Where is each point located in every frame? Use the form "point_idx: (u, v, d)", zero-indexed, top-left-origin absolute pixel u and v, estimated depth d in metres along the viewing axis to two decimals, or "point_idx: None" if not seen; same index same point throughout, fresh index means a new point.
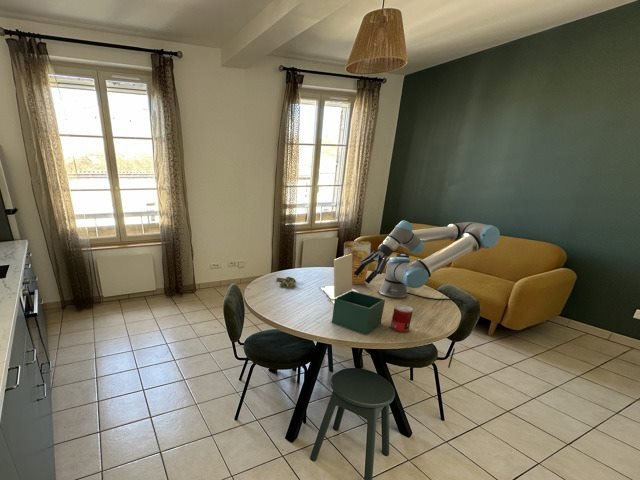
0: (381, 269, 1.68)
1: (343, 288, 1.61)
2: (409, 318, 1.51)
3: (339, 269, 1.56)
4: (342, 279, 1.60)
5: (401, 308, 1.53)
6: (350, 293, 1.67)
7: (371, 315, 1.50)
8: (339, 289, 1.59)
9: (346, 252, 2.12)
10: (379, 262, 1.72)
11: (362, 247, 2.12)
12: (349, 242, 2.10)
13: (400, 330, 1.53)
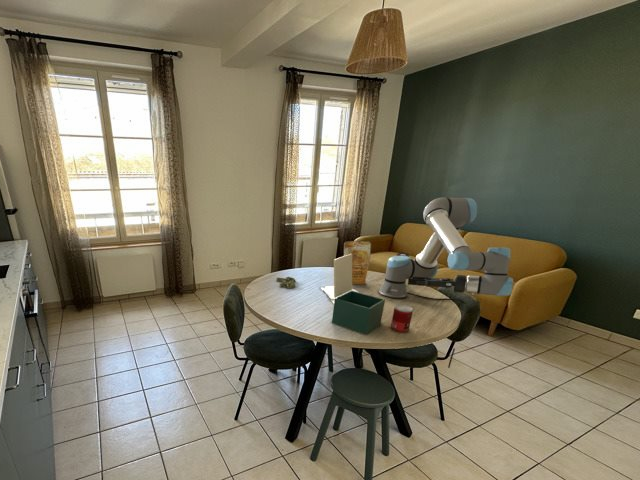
0: None
1: (343, 288, 1.61)
2: (409, 318, 1.51)
3: (339, 269, 1.56)
4: (342, 279, 1.60)
5: (401, 308, 1.53)
6: (350, 293, 1.67)
7: (371, 315, 1.50)
8: (339, 289, 1.59)
9: (346, 252, 2.12)
10: None
11: (362, 247, 2.12)
12: (349, 242, 2.10)
13: (400, 330, 1.53)
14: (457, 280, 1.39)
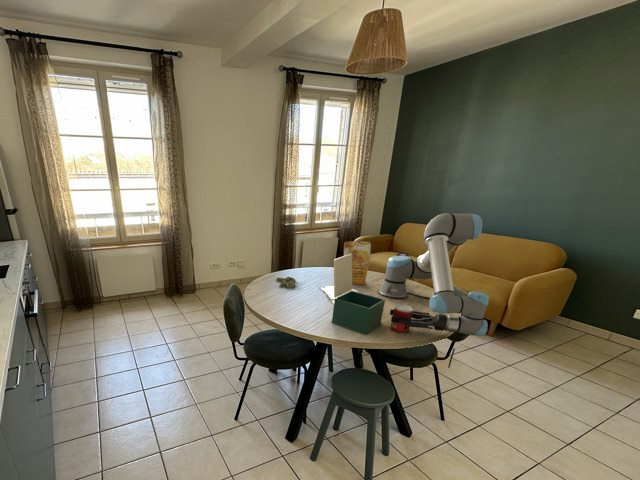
0: None
1: (343, 288, 1.61)
2: None
3: (339, 269, 1.56)
4: (342, 279, 1.60)
5: (401, 308, 1.53)
6: (350, 293, 1.67)
7: (371, 315, 1.50)
8: (339, 289, 1.59)
9: (346, 252, 2.12)
10: None
11: (362, 247, 2.12)
12: (349, 242, 2.10)
13: (400, 330, 1.53)
14: (440, 321, 1.46)
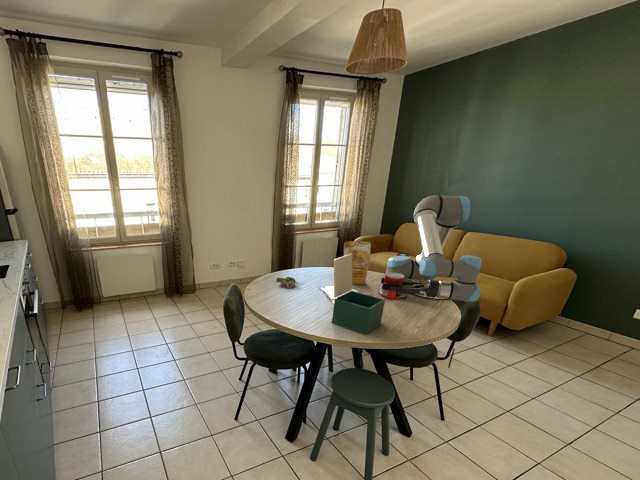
0: None
1: (343, 288, 1.61)
2: None
3: (339, 269, 1.56)
4: (342, 279, 1.60)
5: (392, 275, 1.48)
6: (350, 293, 1.67)
7: (371, 315, 1.50)
8: (339, 289, 1.59)
9: (346, 252, 2.12)
10: None
11: (362, 247, 2.12)
12: (349, 242, 2.10)
13: (391, 298, 1.49)
14: (431, 287, 1.42)
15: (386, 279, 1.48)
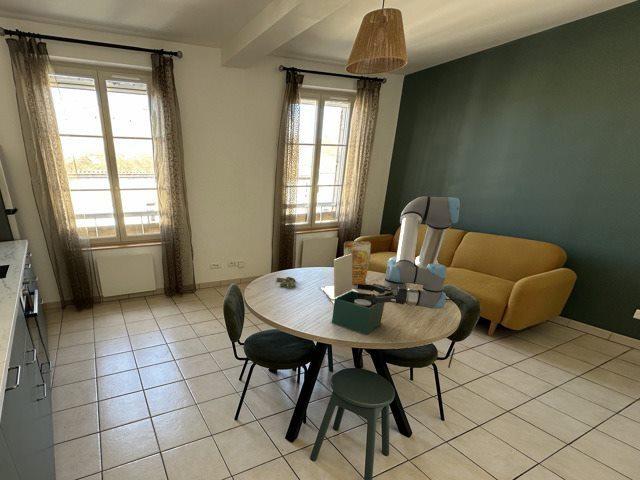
0: None
1: (343, 288, 1.61)
2: None
3: (339, 269, 1.56)
4: (342, 279, 1.60)
5: (360, 302, 1.57)
6: (350, 293, 1.67)
7: (371, 315, 1.50)
8: (339, 289, 1.59)
9: (346, 252, 2.12)
10: None
11: (362, 247, 2.12)
12: (349, 242, 2.10)
13: None
14: (400, 294, 1.47)
15: None
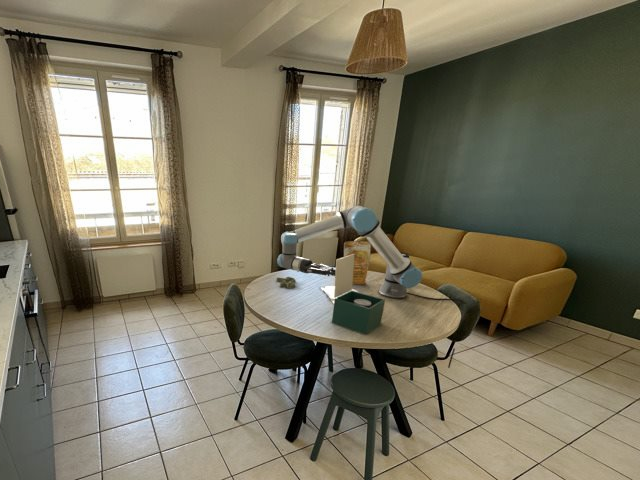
0: (322, 272, 1.64)
1: (343, 288, 1.61)
2: None
3: (341, 269, 1.56)
4: (343, 279, 1.59)
5: (360, 302, 1.57)
6: (350, 293, 1.67)
7: (371, 315, 1.50)
8: (339, 289, 1.59)
9: (346, 252, 2.12)
10: None
11: (362, 247, 2.12)
12: (349, 242, 2.10)
13: None
14: None
15: None
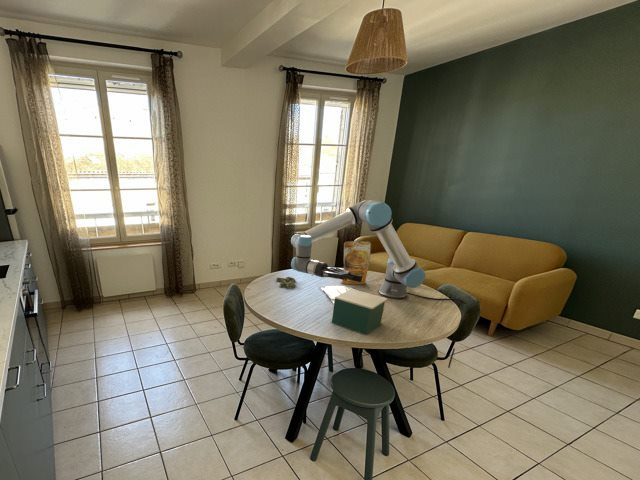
0: (339, 276, 1.58)
1: None
2: None
3: None
4: None
5: None
6: None
7: (371, 315, 1.50)
8: None
9: (346, 252, 2.12)
10: None
11: (362, 247, 2.12)
12: (349, 242, 2.10)
13: None
14: None
15: None
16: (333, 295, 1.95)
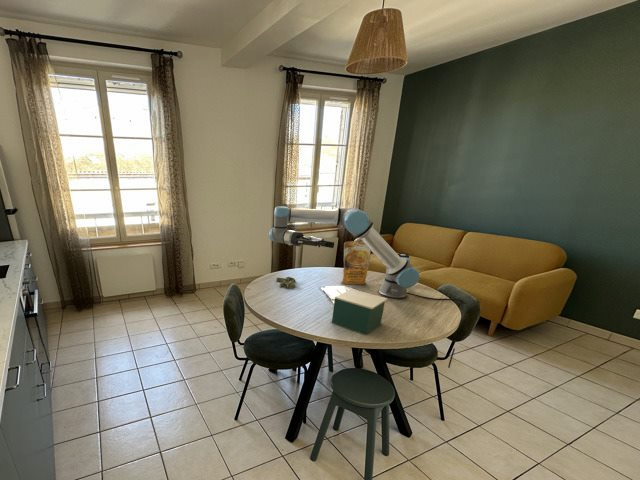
0: (312, 243, 1.65)
1: None
2: None
3: None
4: None
5: None
6: None
7: (371, 315, 1.50)
8: None
9: (346, 252, 2.12)
10: None
11: (362, 247, 2.12)
12: (349, 242, 2.10)
13: None
14: None
15: None
16: (333, 295, 1.95)
